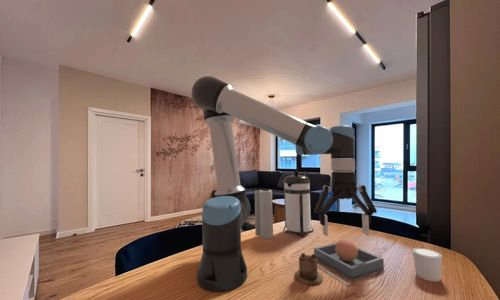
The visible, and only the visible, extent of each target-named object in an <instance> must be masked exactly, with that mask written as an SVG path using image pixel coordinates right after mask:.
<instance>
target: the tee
mask: <svg viewBox="0 0 500 300" xmlns="http://www.w3.org/2000/svg"><path fill="white" fill-rule="evenodd" d="M317 264H318V260H317V259H316V255H314V253H313V254H311V255H309V254H306V253H304V252H301V254H300V256H299V257H298V265H299V266H298V269H297V270H296V271H295V273H294V279H295V280H296V281H297V282H298V283H300V284H303V285H305V286H318V285H320V284H321V283H322V282H323V279H324V278H323V274H322V273H320V272H318V267H317Z"/></svg>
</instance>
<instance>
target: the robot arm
mask: <svg viewBox="0 0 500 300" xmlns="http://www.w3.org/2000/svg"><path fill="white" fill-rule="evenodd" d="M191 98H192V101H193V103H194V104H195V106H196V107H197V108H199V109H200V110H202V114H203V121H204V123H205V125H207V126H208V127H209V133H210V141H211V148H212V149H211V150H212V155H213V163H214V164H213V165H214V170H215V177H216V178H215V179H216V184H217V189H216V190H215V192H214V197H211V198H209V199H207V200H205V201H204V203H203V204H202V211H201V219H202V221H201V223H202V224H201V225H202V226H201V227H202V228H201V229H202V254H201V258H200V262H199V264H198V268H197V272H196V282H197V284H198V286H199V287H201V288H202V289H203V290H207V291H211V292H225V291H227V292H228V291H231V290H234V289H236V288H239V287H240V286H241V285H243V284H244V283H245V282H246V280H247V278H248V267H247V264H246V261H245V258H244V255H243V252H242V240H241V239H242V234H241V231H242V230H241V229H242V227H243V225H244V224H245V223H246V222H247V221H248V220H249V216H250V214H251V204H250V201H249V199H248V197H247V192H246V188H245V187H244V186H243V185H241V178H240V173H239V165H238V159H237V153H236V152H237V151H236V146H235V145H236V144H235V137H234V132H233V131H234V130H233V125H232V124H233V122H234V120H235V119H238V120H240V121H243V122H245V123H247V124H248V125H250V126H253V127H255V128H257V129H260V130H262V131H264V132H266V133H269V134H271V135H273V136H275V137H278V138H280V139H282V140H284V141H286V142H288V143H290V144H293V145H295V152H296V155H300V156H309V155H311V156H312V155H313V156H314V155H315V156H316V155H330V159H331V160H330V166H331V169H330V170H331V171H332V172H331V186H328V185H326V184H325V185H323V186H322V190H321V191H322V192H321V194H320V196H319V198H318V200H317V203H316V205H315V207H314V208H313V209H314V210H313V212H314V213H316V214H317V215H319V223H320V225H321V226H322V234H323V235H324V236H325V237H329V227H328V225H329V223H328V221H329V220H328V215H327V213H328V212H329V210H330V209H331V207H333V205H334V204H335V202H337V201H338V199H340V200H344V199H346V200H350V199H352V201H354V203H355V204H356V205H357V207H359V208H360V209H361V210H362V212H363V213H361V222H362V223H361V225H362V233H363V234H364V235H366V236H370V225H371V224H372V216H373V214H377V212H378V210H377V209H376V206H375V205H374V203H373V201H372V200H371V199H372V198H370V195H369V194H368V192H367V188H366V187H367V186H366V185H364V184H359V185H356V182H357V178H356V177H357V175H356V172H355V170H356V159H355V137H354V129H353V127H352V126H350V125H336V126H331V127H330V128H327V127H325V126H322V125H320V126H319V125H317V126H316V125H314V124H312V123H309V122H307V121H305V120H303V119H300V118H298V117H295V116H294V115H292V114H289V113H286V112H285V111H282V110H279V109H277V108H275V107H273V106H271V105H270V104H269V105H268V104H267V103H264V102H262V101H260V100H257V99H255V98H253V97H250V96H247V95H246V94H243V93H242V92H239V91H237V90H234V89H233V86H232V85H231V84H229V83H226V82H225V81H222V80H220V79H219V78H216V77H215V76H210V75H208V76H207V75H205V76H202V77H200V78H198V79H197V80H196V81H194V83H193V85H192V87H191ZM330 191H331V192H332V194H331V195H330V198H328V200H327V201H326V199H327V197H328V195H329V193H330ZM356 192H359V194H360V195H361V197H362V199H363V201H362V200H361V199H360V198H359V196H358V195H356ZM325 201H326V202H325ZM363 202H364V203H365V204H364V203H363ZM324 203H325V204H324Z"/></svg>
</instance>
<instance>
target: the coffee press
mask: <svg viewBox="0 0 500 300" xmlns="http://www.w3.org/2000/svg"><path fill="white" fill-rule="evenodd" d="M293 173H294V175H293V174H292V175H287V176H286V177H285V178H284V180H283V184H284V186H283V187H284V188H283V195H284V196H283V197H284V199H283V201H284V228H283V229H282V232H283V233H284V234H286V233H287V232H289V231H290V232H293V233H299V235H300V237H301V238H304V237H305V233H306V232H309V231H310V232H311V233H313V232H314V228H313V227H312V215H311V188H310V185H311V181H310V179H309V177H308V176H307V175H302V174H301V175H300V174H299V173H300V172H299V170H298V169H295V170H293Z"/></svg>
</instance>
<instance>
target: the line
mask: <svg viewBox="0 0 500 300" xmlns="http://www.w3.org/2000/svg"><path fill="white" fill-rule="evenodd" d="M317 268H318V269H320V270H322V271H324V272H325V273H327V274H328V275H329V276H331V277H333V278H335V280H338V281H339V282H341V283H342V284H344V285H345V286H350V285H351V283H349V282H348V281H346V280H345V279H343V278H342V277H340V276H338V275H337V274H335V273H333V272H332V271H330V270H328V269H327V268H325V267H324V266H323V265H321V264H319V263H317Z"/></svg>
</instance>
